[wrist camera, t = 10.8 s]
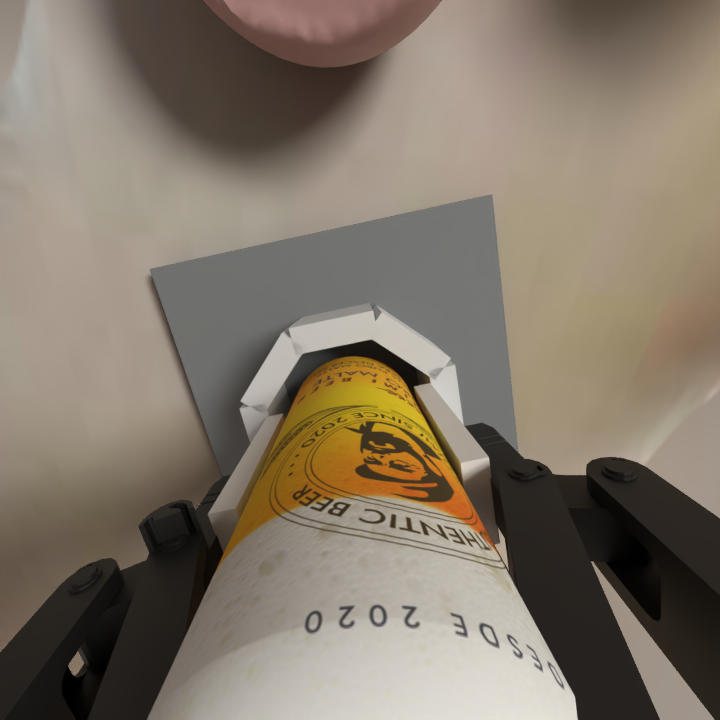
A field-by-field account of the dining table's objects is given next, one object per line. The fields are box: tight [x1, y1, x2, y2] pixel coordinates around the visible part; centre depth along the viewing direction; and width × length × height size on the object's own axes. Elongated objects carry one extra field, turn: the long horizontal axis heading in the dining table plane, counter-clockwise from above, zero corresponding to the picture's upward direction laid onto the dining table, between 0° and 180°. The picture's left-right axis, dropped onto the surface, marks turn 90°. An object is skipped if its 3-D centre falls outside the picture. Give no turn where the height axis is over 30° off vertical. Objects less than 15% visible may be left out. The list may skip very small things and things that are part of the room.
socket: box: [150, 194, 518, 477], centre depth 18 cm, size 18×18×5 cm
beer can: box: [147, 356, 578, 720], centre depth 11 cm, size 6×6×15 cm
